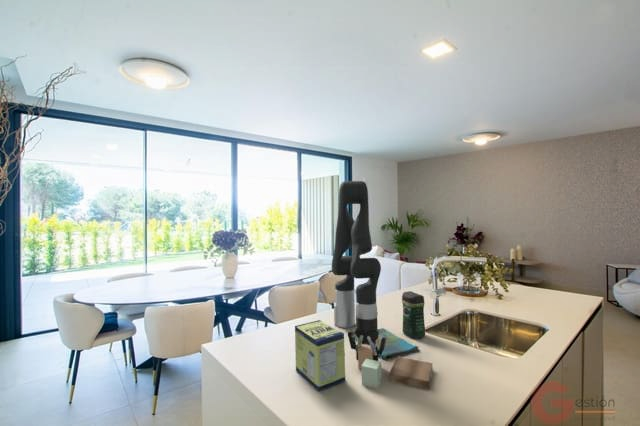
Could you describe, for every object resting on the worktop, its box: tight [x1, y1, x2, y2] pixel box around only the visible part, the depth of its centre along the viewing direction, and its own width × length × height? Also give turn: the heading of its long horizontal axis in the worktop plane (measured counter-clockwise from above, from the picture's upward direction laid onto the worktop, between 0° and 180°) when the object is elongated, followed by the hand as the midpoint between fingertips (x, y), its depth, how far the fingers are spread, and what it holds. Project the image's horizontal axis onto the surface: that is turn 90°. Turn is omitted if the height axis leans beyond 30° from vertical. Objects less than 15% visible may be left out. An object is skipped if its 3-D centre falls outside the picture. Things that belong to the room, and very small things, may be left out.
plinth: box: [388, 356, 434, 390], centre depth 98 cm, size 12×12×2 cm
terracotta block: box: [357, 344, 374, 369], centre depth 104 cm, size 5×5×6 cm
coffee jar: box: [401, 290, 426, 339], centre depth 130 cm, size 10×8×19 cm
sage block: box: [360, 359, 382, 389], centre depth 94 cm, size 5×5×6 cm
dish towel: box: [354, 327, 420, 361], centre depth 122 cm, size 17×23×2 cm
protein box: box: [294, 319, 346, 392], centre depth 99 cm, size 10×16×16 cm
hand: (367, 362), depth 104 cm, fingers closed on terracotta block, 5 cm apart
